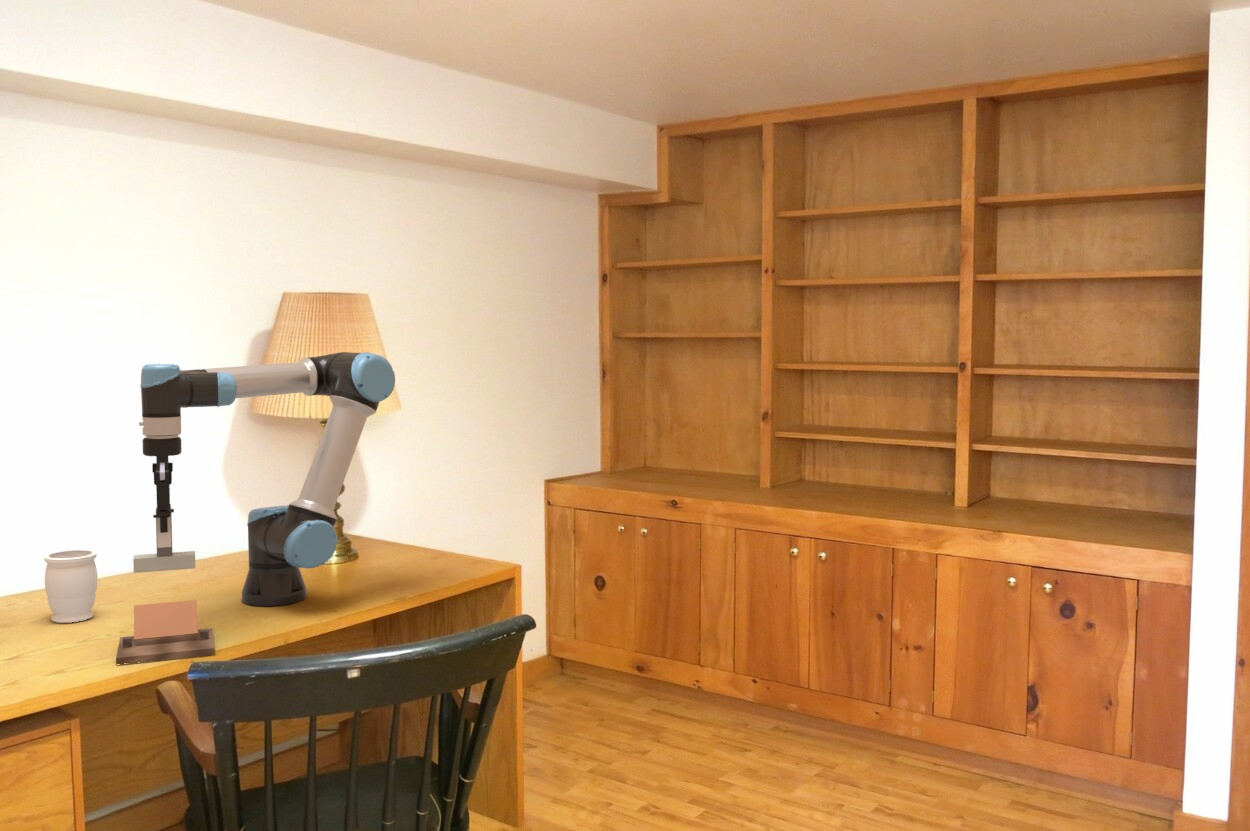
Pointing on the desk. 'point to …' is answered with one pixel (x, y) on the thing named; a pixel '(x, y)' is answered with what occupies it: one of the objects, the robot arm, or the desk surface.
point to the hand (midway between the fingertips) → (164, 545)
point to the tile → (165, 620)
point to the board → (165, 648)
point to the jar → (71, 584)
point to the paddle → (164, 559)
